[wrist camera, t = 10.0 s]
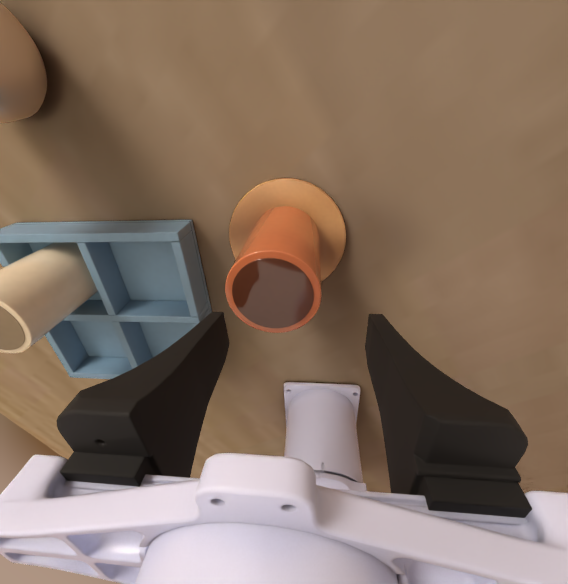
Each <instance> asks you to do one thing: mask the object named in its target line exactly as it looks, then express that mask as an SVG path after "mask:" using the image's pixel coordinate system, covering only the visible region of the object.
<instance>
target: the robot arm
mask: <svg viewBox="0 0 568 584" xmlns="http://www.w3.org/2000/svg"><path fill="white" fill-rule="evenodd" d="M228 347H229V339H228V334H227V329H226V323H225V318H224V313H223V312H211V313H210V314H209V315H208V316H206V317H205V318H204V319H203V320H202V321H201V322H199V323H198V324H197V325H196V326H195V327H194V328H192V329H191V330H190V331H189V332H188V333H187V334H185V335H184V336H183V337H181V338H180V339H179V340H178V341H176V342H175V343H174V344H172V345H171V346H170V347H168V348H167V349H165V350H164V351H162V352H161V353H159V354H158V355H156V356H155V357H153V358H151V359H150V360H148V361H146V362H144V363H143V364H141V365H139V366H137V367H135V368H133V369H132V370H130V371H128V372H125V373H123V374H121V375H119V376H117V377H115V378H112V379H110V380H108V381H105V382H103V383H100V384H97V385H95V386H92V387H90V388H87V389H84V390H81V391H80V392H79V393H78V394H77V395H76V397H75V398H74V399H73V400H72V401H71V402H70V404H69V405H68V406H67V407H66V408H65V409H64V411H63V412H62V413H61V414H60V415H59V416H58V419H57V427H58V430H59V431H60V433H61V435H62V436H63V437H64V439H65V440H66V441H67V443H68V444H69V445H70V447H71V448H72V450H73V451H74V452H73V454H72V455H71V457H70V458H69V459H68V460H67V459H66V458H64V457H60V456H50V455H33V456H32V457H31V459H30V460H29V461H28V462H27V463H26V465H25V466H24V467H23V468H22V469H21V471H20V472H19V473H18V474H17V475H16V477H15V478H14V479H13V480H12V482H11V483H10V484H9V485H8V486H7V487H6V489H5V490H4V491H3V492H2V494H1V495H0V554H1V555H2V556H4V557H5V558H7V559H8V560H9V561H11V562H13V563H20V564H27V565H35V566H41V567H46V568H52V569H58V570H63V571H68V572H72V573H78V574H82V575H86V576H91V577H96V578H100V579H104V580H109V581H113V582H118V583H122V584H568V493H564V492H550V491H530V492H526V493H525V494H524V493H523V491H522V489H521V487H520V485H519V484H518V482H519V483H520V481H521V477H520V475H519V474H518V472H517V470H516V468H515V466H516V465H517V463H518V462H519V460H520V459H521V457H522V456H523V454H524V453H525V451H526V448H527V446H528V440H527V437H526V435H525V434H524V432H523V431H522V429H521V427H520V426H519V424H518V423H517V421H516V420H515V418H514V417H513V416H512V414H511V413H510V412H509V410H508V409H506V408H503V407H501V406H499V405H497V404H495V403H493V402H491V401H489V400H487V399H485V398H483V397H481V396H479V395H478V394H476V393H474V392H472V391H471V390H469V389H467V388H465V387H464V386H462V385H461V384H459V383H457V382H456V381H454V380H453V379H451V378H450V377H448V376H447V375H445V374H444V373H442V372H441V371H440V370H438V369H437V368H436V367H434V366H433V365H432V364H431V363H429V362H428V361H427V360H426V359H424V358H423V357H422V356H421V355H420V354H419V353H418V352H417V351H415V350H414V349H413V348H412V347H411V346H410V345H409V344H408V343H407V342H406V341H405V339H404V338H403V337H402V336H401V335H400V334H399V333H398V332H397V331H396V330H395V329H394V327H393V326H392V325H391V324H390V323H389V322H388V320H387V319H386V318H385V317H384V316H383V315H382V314H369V318H368V327H367V335H366V343H365V350H366V358H367V365H368V369H369V373H370V376H371V380H372V384H373V388H374V391H375V395H376V399H377V403H378V406H379V411H380V416H381V422H382V428H383V435H384V441H385V448H386V455H387V463H388V471H389V478H390V487H391V493H382V492H369V491H367V488H366V484H365V483H363V477H362V469H361V461H360V453H359V446H358V438H357V430H356V421H357V414H358V406H359V398H360V387H359V386H358V385H347V384H323V383H299V382H286V383H285V384H284V398H285V413H286V427H287V432H286V443H285V453H284V456H271V455H255V454H240V453H219V454H215V455H213V456H211V457H210V458H208V459H207V460H206V461H205V464H204V468H203V471H202V474H201V477H200V478H190V474H191V469H192V465H193V460H194V456H195V452H196V447H197V443H198V439H199V435H200V431H201V428H202V424H203V420H204V417H205V413H206V410H207V406H208V403H209V400H210V398H211V395H212V393H213V390H214V388H215V385H216V383H217V380H218V378H219V375H220V373H221V370H222V368H223V365H224V362H225V359H226V355H227V351H228ZM288 389H289V390H288ZM355 392H356V393H355Z"/></svg>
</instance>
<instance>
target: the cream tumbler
mask: <svg viewBox="0 0 568 584" xmlns="http://www.w3.org/2000/svg"><path fill="white" fill-rule="evenodd" d="M97 292H98V290H97V288H96V286H95V283H94V281H93V279H92V277H91V274H90V272H89V270H88V268H87V265H86V263H85V261H84V258H83V256H82V254H81V252H80V249H79V247H78V245H77V243H75V242H64V243H51V244H49V245H47V246H45V247H43V248H41V249H39V250H37V251H35V252H33V253H31V254H29V255H27V256H25V257H23V258H21V259H19V260H17V261H15V262H13V263H11V264H9V265H7V266H5V267H3V268H1V269H0V352H3V353H11V354H14V353H21V352H24V351H26V350H27V349H28V348H30V347H31V346H32V345H33V344H35V343H36V342H37V341H38V340H39V339H41V338H42V337H43V336H44V335H46V334H47V333H48V332H49V331H50V330H52V329H53V328H54V327H55V326H57V325H58V324H59V323H60V322H61V321H63V320H64V319H65V318H66V317H68V316H69V315H70V314H71V313H72V312H74V311H75V310H76V309H77V308H78V307H80V306H81V305H82V304H83V303H85V302H86V301H87V300H88V299H89V298H91V297H92V296H93V295H94V294H96V293H97Z"/></svg>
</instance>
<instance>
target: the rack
mask: <svg viewBox="0 0 568 584" xmlns="http://www.w3.org/2000/svg"><path fill="white" fill-rule="evenodd" d="M64 242H75V243H77V245H78V247H79V249H80V252H81V254H82V256H83V258H84V261H85V263H86V265H87V268H88V270H89V272H90V274H91V277H92V279H93V281H94V283H95V286H96V288H97V290H98V292H97V293H96V294H94V295H93V296H92V297H91V298H89V299H88V300H87V301H86V302H85V303H83V304H82V305H81V306H80V307H78V308H77V309H76V310H75V311H74V312H72V313H71V314H70V315H69V316H68V317H66V318H65V319H64V320H63V321H61V322H60V323H59V324H58V325H57V326H55V327H54V328H53V329H52V330H50V331H49V332H48V333H47V334H46V335H45V336H46V338H47V340H48V341H49V343H50V345H51V346H52V348H53V350H54V351H55V353H56V355H57V356H58V358H59V359H60V361H61V363H62V364H63V366H64V368H65V369H66V371H67V372H68V374H69V376H70V377H75V378H98V379H112V378H115V377H117V376H119V375H121V374H123V373H125V372H128V371H130V370H132V369H133V368H135V367H137V366H139V365H141V364H143V363H144V362H146V361H148V360H150V359H151V358H153V357H155V356H156V355H158V354H159V353H161V352H162V351H164V350H165V349H167V348H168V347H170V346H171V345H172V344H174V343H175V342H176V341H178V340H179V339H180V338H181V337H183V336H184V335H185V334H187V333H188V332H189V331H190V330H191V329H192V328H194V327H195V326H196V325H197V324H198V323H199V322H201V321H202V320H203V319H204V318H205V317H206V316H208V315H209V314H210V313H211V312H212V310H211V305H210V300H209V296H208V291H207V286H206V282H205V277H204V272H203V268H202V263H201V258H200V254H199V249H198V244H197V240H196V235H195V230H194V226H193V221H192V220H143V221H86V222H29V223H14V224H12V225H9V226H6V227H4V228H1V229H0V263H1V265H2V266H3V267H5V266H7V265H9V264H11V263H13V262H15V261H17V260H19V259H21V258H23V257H25V256H27V255H29V254H31V253H33V252H35V251H37V250H39V249H41V248H43V247H45V246H47V245H49V244H51V243H64Z"/></svg>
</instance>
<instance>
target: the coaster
mask: <svg viewBox="0 0 568 584" xmlns="http://www.w3.org/2000/svg"><path fill="white" fill-rule="evenodd" d="M281 206H289V207H294V208H298V209H300V210H302V211H304V212H305V213H307V214H308V215H309V216H310V217H311V218H312V219H313V220H314V222H315V223H316V225H317V227H318V230H319V234H320V258H321V281H322V280H324V279H325V278H326V277H328V276H329V275H330V274H331V273H332V272H333V270H334V269H335V268H336V267H337V265H338V263H339V262H340V260H341V258H342V255H343V252H344V249H345V243H346V230H345V224H344V220H343V217H342V214H341V212H340V210H339V208H338V207H337V205H336V203H335V202H334V201H333V200H332V198H331V197H330V196H329V195H328V194H327V193H326V192H324V191H323V190H322V189H320V188H319V187H317V186H316V185H313V184H311V183H309V182H306V181H303V180H300V179H294V178H279V179H273V180H269V181H266V182H264V183H261V184H259V185H258V186H256V187H254V188H253V189H251V190H250V191H249V192H248V193H247V194H246V195H245V196H244V197H243V198H242V199H241V200H240V202H239V203H238V205H237V206H236V208H235V210H234V212H233V215H232V217H231V221H230V226H229V239H230V245H231V249H232V252H233V255H234V257H235V259H236V258H237V257H238V255H239V253H240V251H241V249H242V247H243V246H244V244H245V242H246V240H247V238H248V237H249V235H250V233H251V231H252V229H253V227H254V226H255V224H256V222H257V220H258V219H259V218H260V217H261V216H262V215H263V214H264V213H265V212H267V211H268V210H270V209H273V208H276V207H281Z"/></svg>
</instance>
